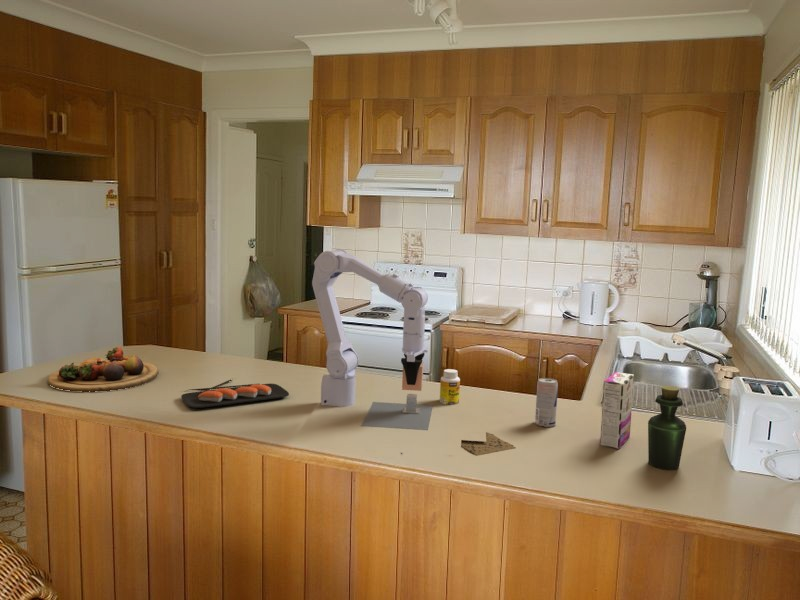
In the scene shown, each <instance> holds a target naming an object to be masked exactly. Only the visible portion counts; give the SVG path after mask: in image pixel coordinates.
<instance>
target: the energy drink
mask: <svg viewBox="0 0 800 600" xmlns="http://www.w3.org/2000/svg"><path fill="white" fill-rule="evenodd" d="M558 390H559V383H558V380H557V379H554V378H549V377H541V378H538V380H537V383H536V400H535V415H534V416H535V419H534V422H535V424H536V426H539V425H540V427H542V426H544V428H552V426H553V427H554V426H556V422H557V410H558V409H557V407H558V406H557V405H558V392H559V391H558Z"/></svg>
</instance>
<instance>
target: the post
mask: <svg viewBox="0 0 800 600" xmlns="http://www.w3.org/2000/svg"><path fill="white" fill-rule="evenodd" d="M417 402H418V394H416V393H407V395H406V403H405V404H406V407H404V410H403V413H407V414H419V411H420V408H417V405H418V403H417Z"/></svg>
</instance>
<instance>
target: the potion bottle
mask: <svg viewBox="0 0 800 600" xmlns="http://www.w3.org/2000/svg"><path fill="white" fill-rule="evenodd" d="M660 388H661V394H659V395H657V396H656V398H655V400H654V401H655V403H656V404H659V407H660V413H658V414H656V415H653V416H651V417H650V418H649V419H648V422H647V428H648V429H647V432H648V433H647V434H648V435H647V446H648V450H647V451H648V452H647V454H648V455H647V456H648V463H649V465H651V466H652V467H654V468H656V469H659V470H666V471H672V470H676V469H678V468H680V462H681V458H682V453H683V448H684V442H685V436H686V432H687V425H686V422H685V421H684V420H682V418H680V417H678V416H677V415H676V413H677V410H678V407H682V406H684V402H683V399H682V398H681V397H679V396H678V395H679V392H680V387H677V386H674V385H661V387H660Z"/></svg>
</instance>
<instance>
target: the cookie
mask: <svg viewBox="0 0 800 600" xmlns="http://www.w3.org/2000/svg"><path fill="white" fill-rule="evenodd" d="M485 439H486V440H485V441H481V440H465V439H461V441H460V448H462V449H463V450H465V451H467V452H469V453H471V454H472V455H474V456H475V457H478V456H482V455H488V454H493V453H498V452H499V453H500V452H504V451H507V450H508V451H509V450H513V449H514V450H515V449H517V448H516V447H515V446H514V444H511V443H509V442H508V441H505V440H503V439H502V438H499V437H498V436H496V435H495V434H493V433H490V432H488V431H487V432H485Z"/></svg>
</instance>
